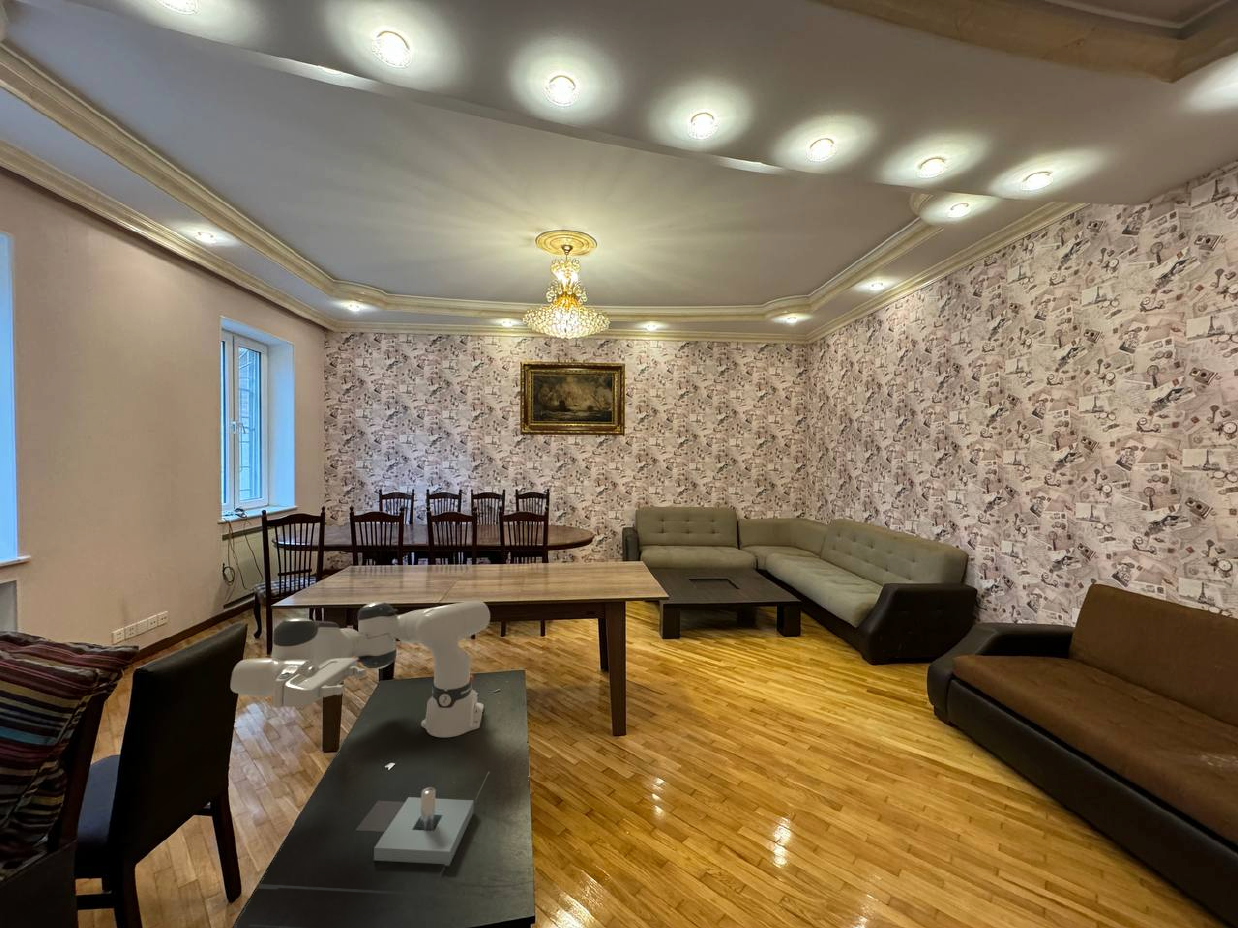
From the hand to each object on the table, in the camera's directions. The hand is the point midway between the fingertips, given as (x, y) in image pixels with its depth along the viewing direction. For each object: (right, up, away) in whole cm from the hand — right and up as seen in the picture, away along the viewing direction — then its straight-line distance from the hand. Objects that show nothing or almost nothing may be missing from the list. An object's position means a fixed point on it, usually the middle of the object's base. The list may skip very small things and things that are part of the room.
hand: (354, 681), depth 121 cm
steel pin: (+22, -31, -10) cm, 39 cm away
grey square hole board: (+22, -31, -10) cm, 39 cm away
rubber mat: (+9, -30, -5) cm, 32 cm away
